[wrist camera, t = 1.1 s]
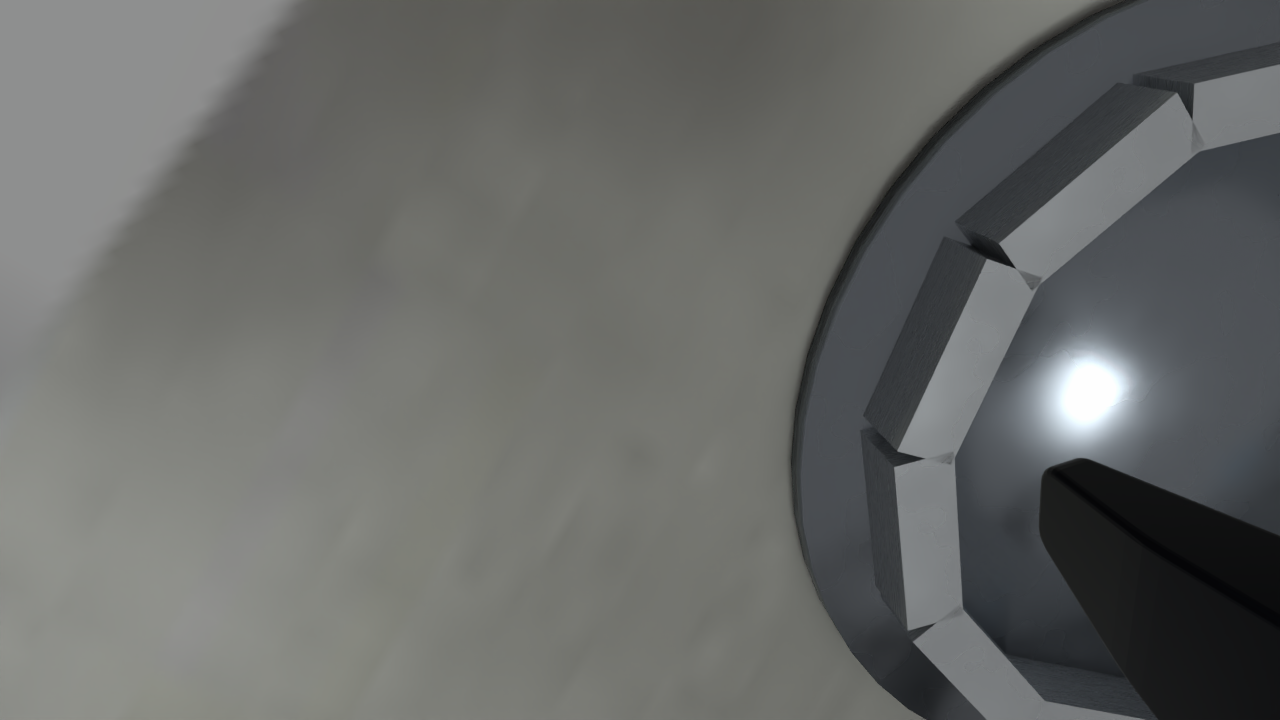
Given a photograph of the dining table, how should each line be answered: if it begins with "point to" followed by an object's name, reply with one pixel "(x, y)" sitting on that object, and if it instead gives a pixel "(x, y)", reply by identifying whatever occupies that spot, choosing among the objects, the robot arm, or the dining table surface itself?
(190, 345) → the dining table surface
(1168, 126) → the grey round dish
